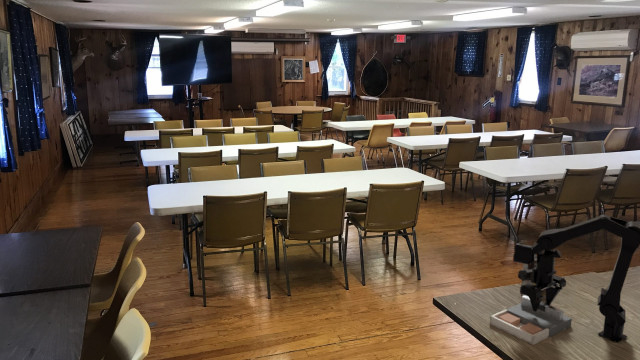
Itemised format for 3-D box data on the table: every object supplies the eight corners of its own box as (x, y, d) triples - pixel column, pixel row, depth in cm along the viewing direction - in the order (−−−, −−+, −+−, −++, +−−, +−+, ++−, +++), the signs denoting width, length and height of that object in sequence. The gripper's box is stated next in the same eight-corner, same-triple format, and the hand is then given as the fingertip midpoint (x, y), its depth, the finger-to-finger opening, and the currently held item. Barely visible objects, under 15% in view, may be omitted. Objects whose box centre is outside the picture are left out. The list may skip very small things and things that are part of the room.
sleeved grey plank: (524, 303, 184) (525, 295, 184) (563, 320, 172) (564, 310, 171) (520, 305, 183) (521, 296, 182) (559, 322, 171) (560, 312, 170)
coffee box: (525, 299, 195) (528, 260, 191) (520, 292, 201) (523, 254, 198) (549, 300, 194) (553, 261, 190) (543, 293, 200) (547, 255, 197)
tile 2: (528, 328, 172) (529, 322, 171) (541, 334, 167) (542, 329, 167) (519, 332, 169) (520, 326, 168) (532, 338, 165) (533, 333, 164)
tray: (505, 317, 181) (505, 309, 180) (548, 337, 167) (549, 329, 166) (489, 323, 176) (490, 315, 175) (532, 345, 162) (533, 336, 162)
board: (527, 307, 188) (528, 300, 187) (571, 326, 174) (571, 318, 173) (505, 317, 181) (506, 309, 180) (548, 337, 167) (549, 328, 166)
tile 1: (507, 318, 179) (508, 313, 178) (519, 323, 175) (520, 318, 174) (498, 322, 176) (498, 316, 176) (510, 327, 172) (511, 322, 172)
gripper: (540, 254, 185) (536, 293, 189) (508, 265, 175) (505, 306, 179) (568, 263, 176) (564, 304, 180) (536, 275, 166) (533, 318, 170)
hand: (541, 308), depth 177 cm, fingers open, 7 cm apart
